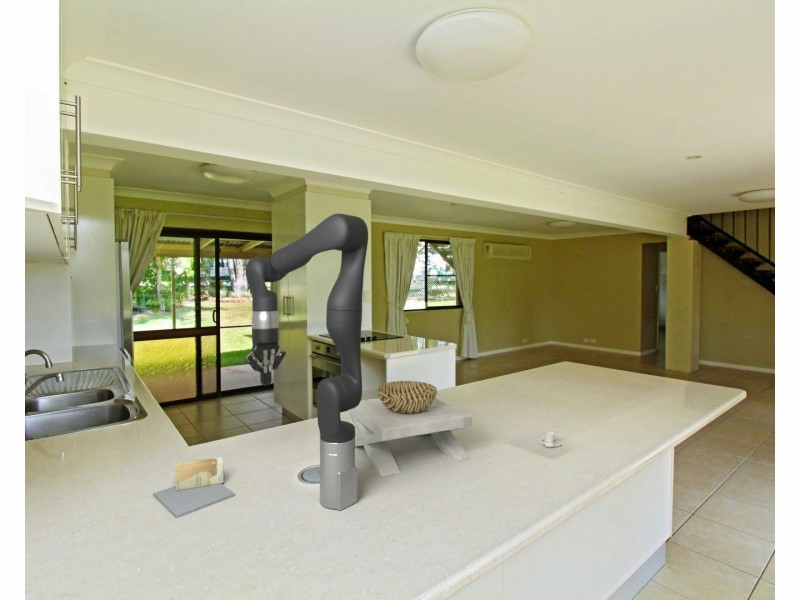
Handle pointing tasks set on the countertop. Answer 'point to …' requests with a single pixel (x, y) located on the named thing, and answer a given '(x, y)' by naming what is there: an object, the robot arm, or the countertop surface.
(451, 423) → the wicker basket on stand
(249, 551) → the countertop surface
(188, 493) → the mat
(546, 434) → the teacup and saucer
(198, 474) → the skincare box
